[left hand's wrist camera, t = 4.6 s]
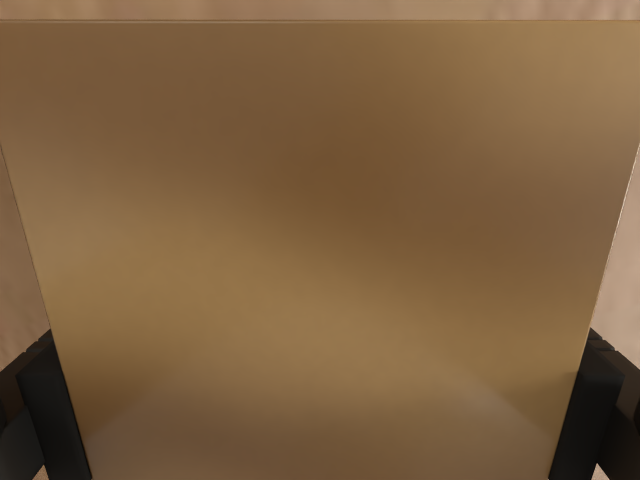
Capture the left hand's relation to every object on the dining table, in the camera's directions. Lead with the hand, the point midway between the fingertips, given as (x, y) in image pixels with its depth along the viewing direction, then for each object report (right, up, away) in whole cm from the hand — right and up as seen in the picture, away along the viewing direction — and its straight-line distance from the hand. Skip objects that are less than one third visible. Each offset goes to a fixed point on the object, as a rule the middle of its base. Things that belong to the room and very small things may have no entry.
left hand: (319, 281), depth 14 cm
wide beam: (0, -21, +8) cm, 22 cm away
